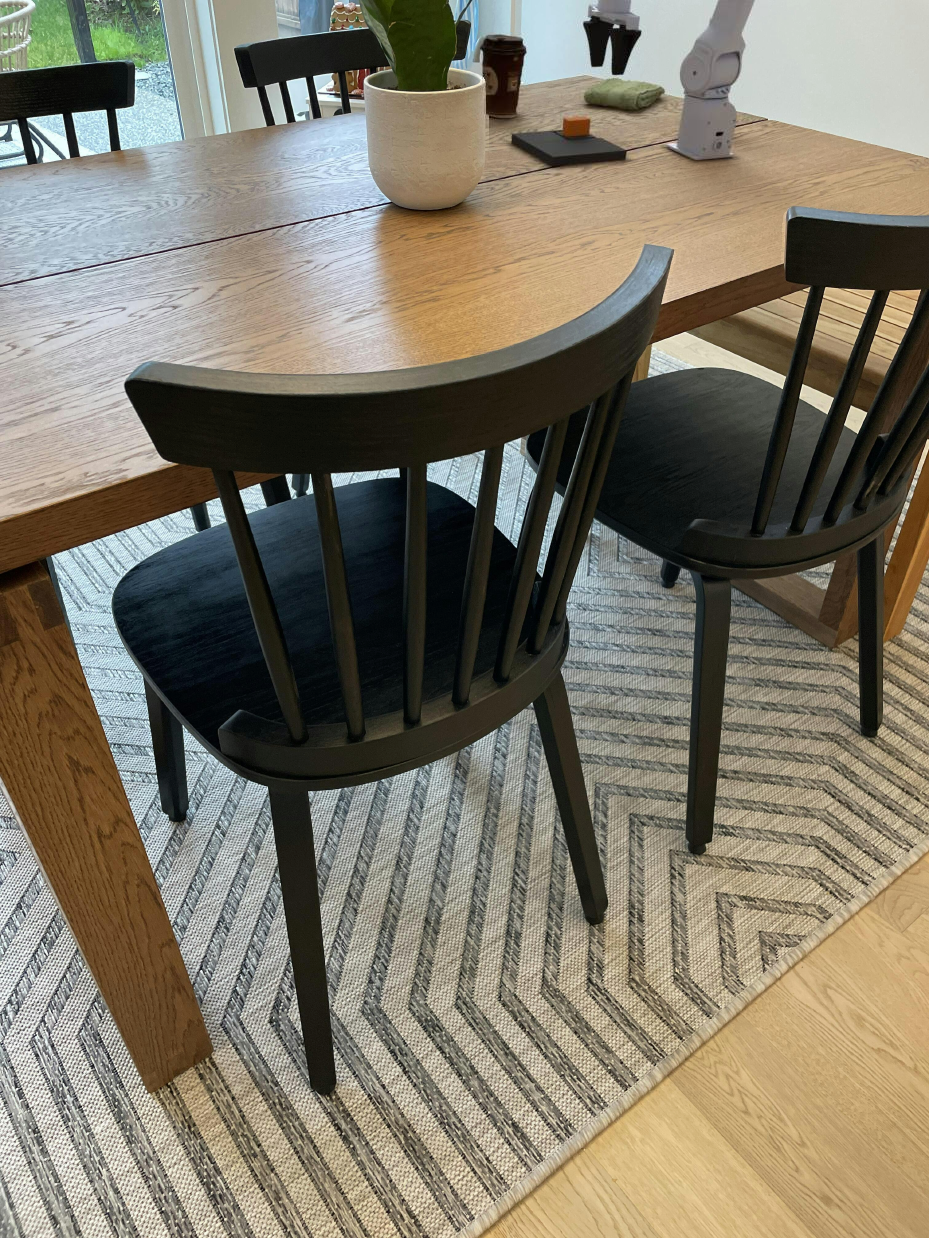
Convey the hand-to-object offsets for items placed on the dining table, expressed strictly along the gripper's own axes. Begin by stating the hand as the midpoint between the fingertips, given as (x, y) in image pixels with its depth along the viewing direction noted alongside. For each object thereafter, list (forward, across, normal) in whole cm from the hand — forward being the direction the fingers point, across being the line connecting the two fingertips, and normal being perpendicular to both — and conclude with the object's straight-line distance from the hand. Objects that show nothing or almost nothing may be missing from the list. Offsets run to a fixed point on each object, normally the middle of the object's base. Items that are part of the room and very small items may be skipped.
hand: (607, 70), depth 167 cm
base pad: (+9, +13, -14) cm, 21 cm away
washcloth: (+10, -19, +16) cm, 27 cm away
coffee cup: (+10, -15, -14) cm, 23 cm away
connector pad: (+9, +9, -10) cm, 16 cm away
